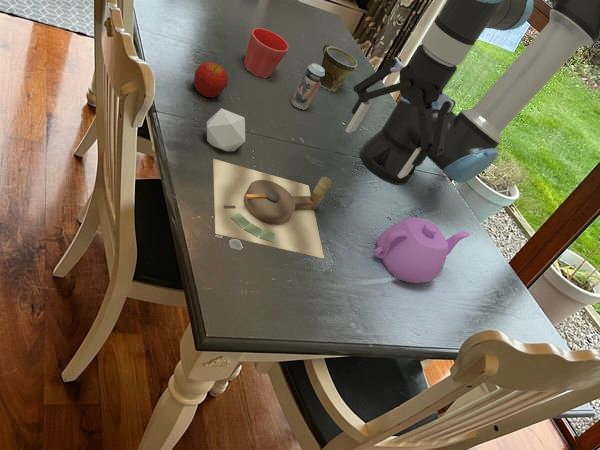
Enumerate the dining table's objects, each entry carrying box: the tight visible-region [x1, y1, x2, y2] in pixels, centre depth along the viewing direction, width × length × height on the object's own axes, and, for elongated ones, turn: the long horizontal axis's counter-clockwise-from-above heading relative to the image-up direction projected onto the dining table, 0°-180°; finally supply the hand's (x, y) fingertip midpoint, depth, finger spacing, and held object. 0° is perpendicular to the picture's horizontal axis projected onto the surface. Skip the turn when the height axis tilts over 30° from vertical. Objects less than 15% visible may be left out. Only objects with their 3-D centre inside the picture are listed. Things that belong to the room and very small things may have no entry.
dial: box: [244, 176, 333, 224], centre depth 115 cm, size 18×10×7 cm, turn 119°
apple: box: [194, 61, 229, 98], centre depth 136 cm, size 8×8×8 cm
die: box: [206, 107, 246, 152], centre depth 123 cm, size 8×9×10 cm
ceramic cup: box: [321, 44, 358, 91], centre depth 169 cm, size 13×10×10 cm
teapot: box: [374, 217, 471, 284], centre depth 120 cm, size 20×13×12 cm, turn 110°
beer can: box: [291, 62, 325, 110], centre depth 151 cm, size 5×5×12 cm
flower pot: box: [243, 27, 290, 78], centre depth 156 cm, size 11×11×10 cm
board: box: [212, 158, 325, 260], centre depth 115 cm, size 22×22×1 cm
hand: (375, 152), depth 109 cm, fingers open, 13 cm apart
